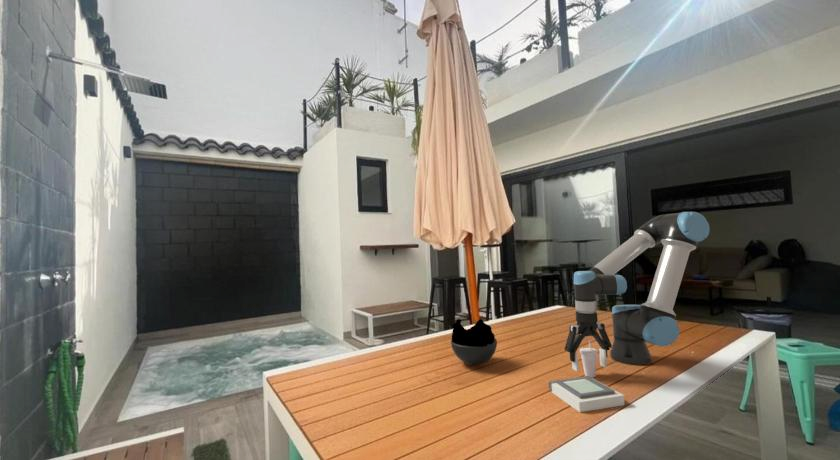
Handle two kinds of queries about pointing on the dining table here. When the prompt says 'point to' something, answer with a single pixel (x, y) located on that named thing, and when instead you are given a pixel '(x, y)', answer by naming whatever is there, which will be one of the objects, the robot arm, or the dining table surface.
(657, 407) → the dining table surface
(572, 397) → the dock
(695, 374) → the dining table surface
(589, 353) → the smoothie
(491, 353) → the bowl of black rocks
